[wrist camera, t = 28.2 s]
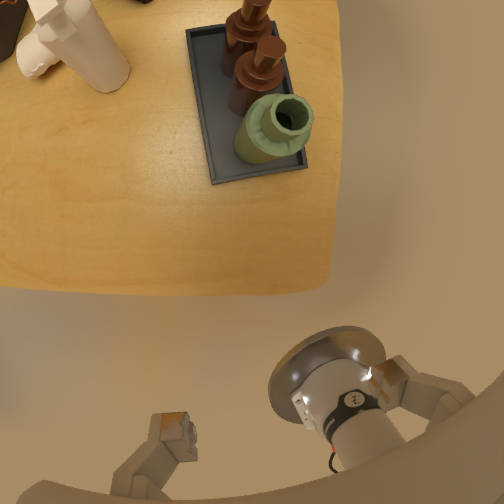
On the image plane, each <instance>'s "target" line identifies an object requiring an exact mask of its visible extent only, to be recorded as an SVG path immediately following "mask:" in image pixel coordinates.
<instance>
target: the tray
mask: <svg viewBox="0 0 504 504" xmlns="http://www.w3.org/2000/svg"><path fill="white" fill-rule="evenodd" d="M271 22H272V26H273V30H272V33H271V35H272V36H276V37H279V34H278V30H277V27H276V23H275V21H271ZM185 31H186V38H187V44H188V51H189V57H190V64H191V70H192V76H193V82H194V88H195V94H196V100H197V106H198V111H199V117H200V123H201V128H202V134H203V139H204V145H205V150H206V155H207V161H208V166H209V171H210V176H211V181H212V185H214V184H219V183H224V182H229V181H234V180H239V179H245V178H250V177H256V176H261V175H267V174H273V173H279V172H286V171H292V170H299V169H306V168H308V164H307V158H306V152H305V147H303V148H302V149H301V150H299V151H298V152H296V153H294V154H293V155H290V156H287V157H283V158H280V159H276V160H273V161H270V162H267V163H264V164H258V165H252V164H248V163H245V162H243V161H242V160H241V159H240V158H239V157H238V156H237V155H236V153H235V151H234V148H233V139H234V136H235V133H236V131H237V130H238V128H239V126H240V124H241V122H242V120H243V119H244V117H240V116H238V115H236V114H234V113H233V112H232V111H231V110H230V109H229V107H228V104H227V97H228V93H229V89H230V85H231V80H232V79H231V78H229V77H227V76H226V75H224V73H223V72H222V70H221V68H220V63H221V54H222V46H223V38H224V31H225V24H218V25H211V26H204V27H198V28H192V29H186V30H185ZM279 38H280V37H279ZM280 61H281V62H282V64H283V67H284V78H283V80H282V82H281V83H280V85H279V86H278V87H277V88H276V90H275V91H274V92H273V94H283V95H287V94H294V93H293V88H292V84H291V80H290V76H289V72H288V68H287V64H286V60H285V56H284V55H283V57H282V58H281V60H280Z"/></svg>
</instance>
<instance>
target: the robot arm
mask: <svg viewBox="0 0 504 504" xmlns="http://www.w3.org/2000/svg"><path fill="white" fill-rule="evenodd" d="M371 375H372V376H371ZM290 397H291V400H292V402H293V404H294V406H295V408H296V410H297V412H298V414H299V416H300V418H301V420H302V422H303V424H304V425H305V427H306V429H308V430H317V432H318V434H319V436H320V437H323V438H326V439H327V440H328V442H329V443H330V444H331V445H332V450H333V453H332V455H331V457H330V460H329V468H330V469H331V471H333V472H334V473H335V474H333V475H330V476H327V477H324V478H321V479H318V480H314V481H311V482H307V483H303V484H300V485H296V486H292V487H287V488H284V489H279V490H274V491H269V492H264V493H258V494H252V495H245V496H237V497H229V498H219V499H204V500H171V499H170V498H169V497H168V496H167V495H166V494H165V493H164V492H162V491H161V489H162V488H163V486H164V485H165V484H166V482H167V481H168V479H169V478H170V476H171V475H172V473H173V472H174V470H175V469H176V467H177V466H178V464H179V462H192V461H197V448H196V446H195V443H196V442H197V434H196V429H195V426H194V424H193V422H191V421H189V418H190V416H189V415H188V413H187V412H173V413H156V414H153V415H152V416H151V422H150V428H149V434H148V441H147V442H144V443H143V444H142V445H141V446H140V447H139V448H138V449H137V450H136V451H135V452H134V453H133V454H132V455H131V456H130V457H129V458H128V459H127V460H126V461H125V462H124V463H123V464H122V465H121V466H120V467H119V468H118V469H117V470H116V471H115V472H114V474H113V480H112V485H111V491H110V495H107V494H101V493H96V492H91V491H86V490H82V489H77V488H73V487H69V486H66V485H62V484H58V483H55V482H52V481H48V480H42V481H40V482H38V483H36V484H34V485H33V486H31V487H30V488H28V489H27V490H26V491H24V492H23V493H22V494H21V495H20V497H19V499H18V501H17V503H16V504H504V371H503V372H502V373H501V374H500V375H499V376H498V377H497V378H496V380H495V381H494V382H493V383H492V384H491V385H490V386H488V387H487V388H486V389H485V390H484V391H483V392H481V393H480V394H479V395H478V396H476V397H475V396H474V395H473V394H472V393H471V392H470V391H469V390H468V389H467V388H466V387H465V386H464V385H463V384H462V383H460V382H456V381H452V380H448V379H444V378H440V377H436V376H433V375H428V374H425V373H418V372H417V371H416V370H415V369H414V368H413V367H412V366H411V365H410V364H409V363H408V362H407V361H406V360H405V359H404V358H403V357H402V356H401V355H397V356H395V357H393V358H391V359H388V360H386V361H383V362H381V363H378V364H376V365H374V366H372V367H370V368H369V367H365V366H361V365H360V364H359V363H358V362H356V361H355V360H352V359H347V358H343V359H336V360H333V361H330V362H327V363H325V364H323V365H322V366H320V367H318V368H317V369H316V370H314V371H313V372H312V373H311V374H310V375H309V376H308V377H307V378H306V380H305V381H304V383H303V384H302V385H301V387H300V388H298V389H297V390H296V391H294V392H293V393H292V394H291V396H290ZM398 406H400V407H402V408H404V409H406V410H408V411H410V412H412V413H414V414H417V415H419V416H421V417H423V418H426V419H428V420H430V421H429V423H428V425H427V427H426V430H425V431H426V432H424V433H423V434H421V435H419V436H417V437H416V438H414V439H412V440H410V441H408V442H407V443H406V441H405V440H404V438H403V437H402V436H401V434H400V433H399V432H398V430H397V429H396V427H395V426H394V425H393V423H392V422H391V421H390V419H389V418H388V416H387V415H386V412H387V411H389V410H392V409H394V408H396V407H398ZM336 452H337V454H338V456H339V458H340V460H341V462H342V465H343V467H344V468H345V470H344V471H342V472H337V471H336V470H335V469H333V467H332V460H333V457H334V455H335V453H336Z"/></svg>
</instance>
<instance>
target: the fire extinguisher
mask: <svg viewBox="0 0 504 504" xmlns="http://www.w3.org/2000/svg"><path fill="white" fill-rule="evenodd" d="M27 1H28V4H29V6H30V8H31V11H32V13H33V15H34V18H35V20H36V22H37V23H36V31H37V35H38V39H39V42H41V43H42V44H43V45H44V46H45V47H46V48H48V49H49V50H50V51H51V52H52V53H53V54H55V55H56V56H57V57H58V58H59V59H60V60H62V61H63V62H64V63H65V64H66V65H67V66H68V67H70V68H71V69H72V70H73V71H74V72H75V73H76V74H78V75H79V76H80V77H81V78H82V79H83V80H84V81H86V82H87V83H88V84H89V85H90V86H91V87H92V88H93V89H95V90H96V91H99V92H103V93H108V92H111V91H114V90H117V89H119V88H120V87H121V86H122V85H123V84H124V83H125V82H126V81H127V80H128V76H129V73H130V69H131V68H130V66H129V64H128V62H127V60H126V59H125V57H124V55H123V54H122V52H121V50H120V49H119V47H118V45H117V44H116V42H115V41H114V39H113V37H112V36H111V34H110V32H109V31H108V29H107V27H106V26H105V24H104V22H103V21H102V19H101V17H100V16H99V14H98V12H97V11H96V9H95V8H94V6H93V4H92V3H91V1H90V0H27Z"/></svg>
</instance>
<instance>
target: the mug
mask: <svg viewBox="0 0 504 504" xmlns="http://www.w3.org/2000/svg"><path fill="white" fill-rule="evenodd" d="M16 58H17V62H18V66H19V68H20V70H21V72H22V73H23V75H24V76H25V77H26V78H27V79H29V80H34V79H36V78H37V77H38V76H39V75H41V74H43V73H44V72H45V71H46V70H47V68H48V67H50V66H51V65H54V64H56V63H57V62H58V61H60V59H59V58H58V57H57V56H56V55H55V54H53V53H52V52H51V51H50V50H49V49H48V48H46V47H45V46H44V45H43V44H42V43H41V42H39V39H38V35H37V31H36V26H35V27H34V29H33V30H32V32H31V33H29V34H28V35H26V36H25V37H23V40H22V41H20V42H19V43H18V45H17V49H16Z"/></svg>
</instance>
